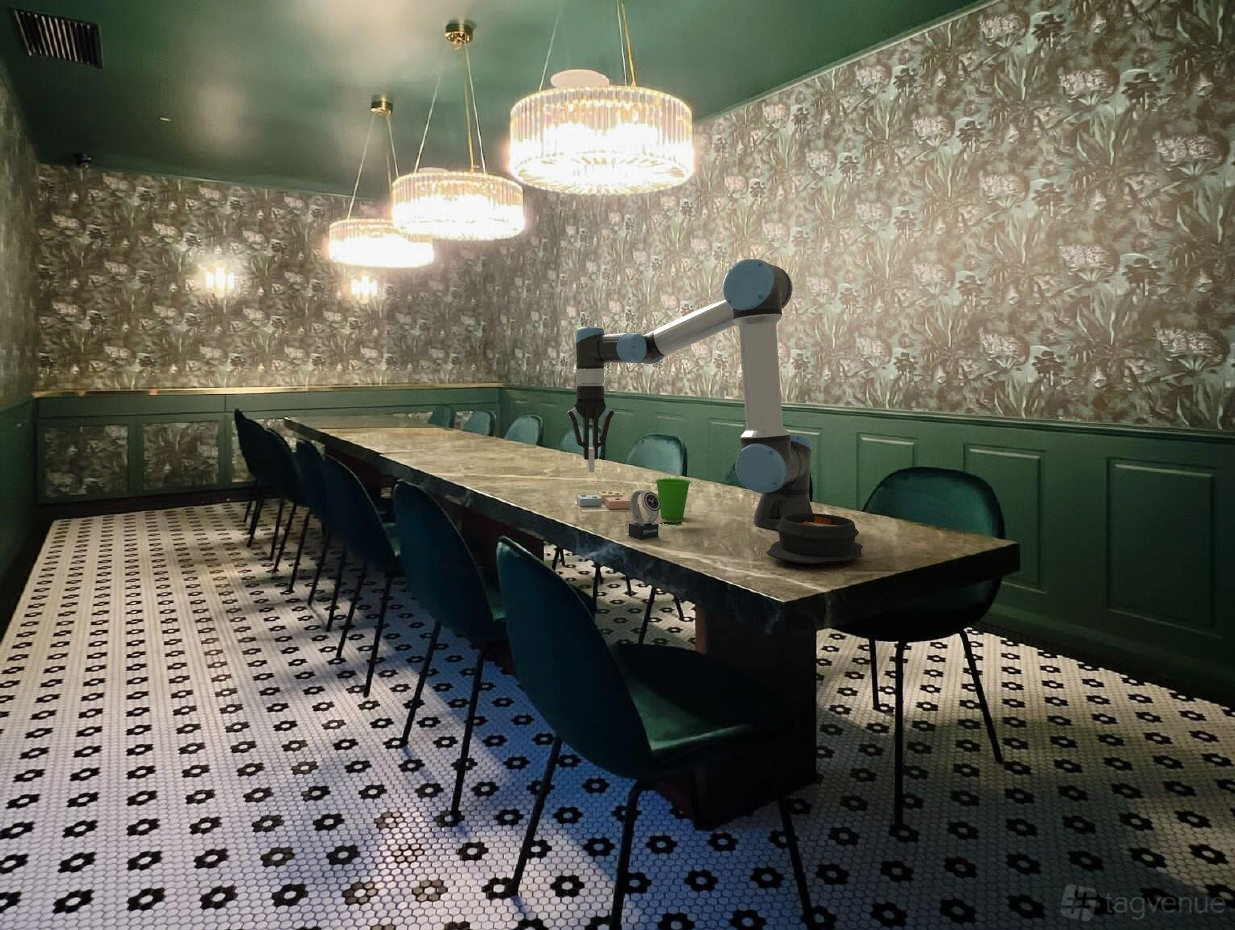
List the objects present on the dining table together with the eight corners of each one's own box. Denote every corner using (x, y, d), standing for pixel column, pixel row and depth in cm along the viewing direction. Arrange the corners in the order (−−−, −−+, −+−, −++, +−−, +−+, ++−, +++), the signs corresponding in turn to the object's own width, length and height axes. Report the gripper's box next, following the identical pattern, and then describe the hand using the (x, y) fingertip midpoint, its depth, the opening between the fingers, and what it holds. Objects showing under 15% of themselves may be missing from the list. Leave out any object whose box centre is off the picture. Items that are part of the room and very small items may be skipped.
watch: (646, 541, 171) (647, 493, 170) (623, 534, 178) (624, 489, 176) (664, 538, 175) (665, 491, 173) (641, 532, 181) (642, 487, 180)
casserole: (806, 541, 174) (808, 506, 173) (883, 556, 161) (886, 518, 160) (744, 560, 156) (746, 520, 155) (826, 578, 143) (828, 535, 142)
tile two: (601, 505, 205) (601, 497, 205) (580, 506, 204) (580, 498, 204) (597, 501, 211) (597, 494, 211) (576, 502, 210) (576, 494, 209)
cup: (687, 527, 187) (689, 484, 185) (651, 525, 189) (652, 482, 187) (691, 520, 196) (692, 479, 194) (657, 518, 197) (658, 477, 196)
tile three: (622, 501, 211) (622, 494, 211) (601, 502, 210) (601, 494, 210) (618, 498, 217) (618, 490, 217) (597, 498, 216) (597, 491, 216)
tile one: (630, 508, 202) (631, 500, 202) (609, 508, 200) (609, 500, 200) (625, 504, 208) (626, 496, 207) (604, 504, 206) (604, 496, 206)
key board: (637, 515, 201) (637, 510, 201) (582, 517, 198) (582, 511, 197) (622, 503, 219) (622, 498, 219) (571, 504, 216) (571, 499, 216)
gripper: (611, 384, 208) (611, 469, 211) (564, 385, 206) (565, 470, 208) (616, 385, 201) (617, 472, 204) (568, 385, 198) (569, 473, 201)
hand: (590, 471), depth 206 cm, fingers closed
